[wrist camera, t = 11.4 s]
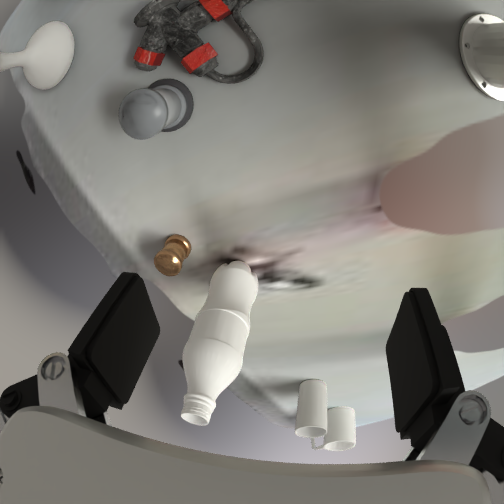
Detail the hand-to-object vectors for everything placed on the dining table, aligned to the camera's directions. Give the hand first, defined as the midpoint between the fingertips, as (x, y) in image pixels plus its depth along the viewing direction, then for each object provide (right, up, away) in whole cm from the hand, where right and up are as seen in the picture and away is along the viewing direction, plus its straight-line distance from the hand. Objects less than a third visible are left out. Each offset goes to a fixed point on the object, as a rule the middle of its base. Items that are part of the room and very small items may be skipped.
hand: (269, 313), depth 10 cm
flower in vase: (-30, +33, +20) cm, 49 cm away
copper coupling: (-12, +3, +36) cm, 38 cm away
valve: (-2, +30, +18) cm, 35 cm away
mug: (+14, -29, +53) cm, 62 cm away
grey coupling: (-11, +21, +24) cm, 34 cm away
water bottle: (-3, -1, +38) cm, 38 cm away
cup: (+21, -41, +60) cm, 76 cm away
